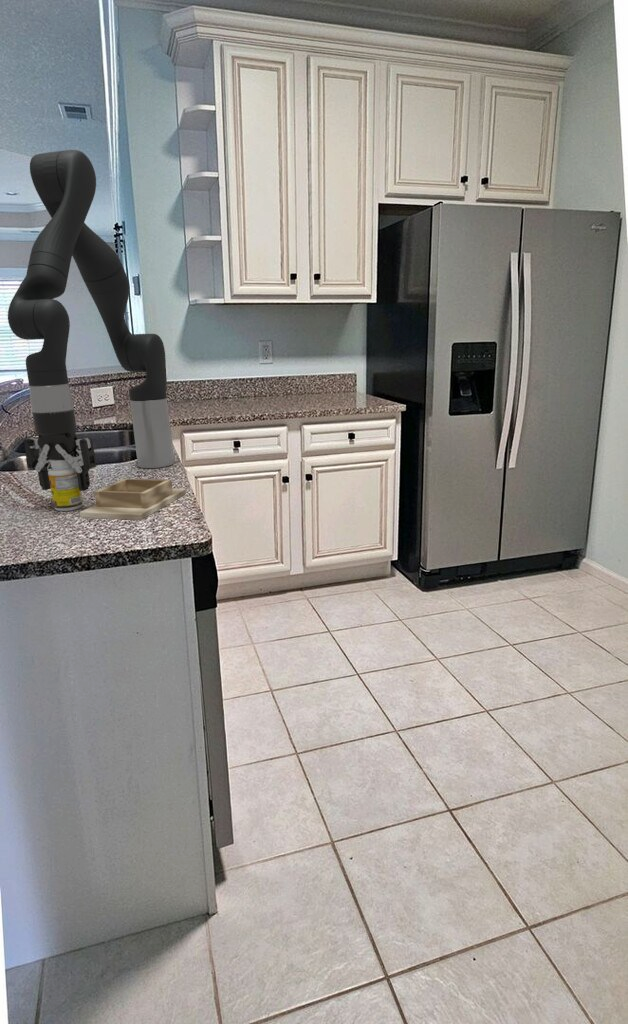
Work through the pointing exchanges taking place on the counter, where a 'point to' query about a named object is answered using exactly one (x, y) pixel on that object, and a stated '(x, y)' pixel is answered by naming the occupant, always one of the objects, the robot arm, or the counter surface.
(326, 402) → the counter surface
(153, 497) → the cup caddy
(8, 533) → the counter surface
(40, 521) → the counter surface
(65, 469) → the supplement bottle
